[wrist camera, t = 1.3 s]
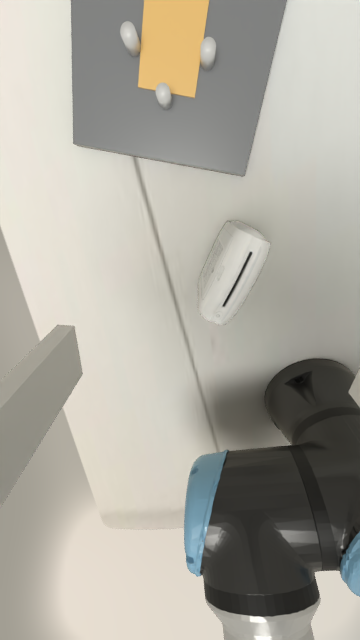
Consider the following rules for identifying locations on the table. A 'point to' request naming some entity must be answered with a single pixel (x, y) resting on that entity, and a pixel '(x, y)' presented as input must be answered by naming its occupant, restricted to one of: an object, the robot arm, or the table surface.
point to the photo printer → (230, 271)
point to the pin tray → (172, 77)
